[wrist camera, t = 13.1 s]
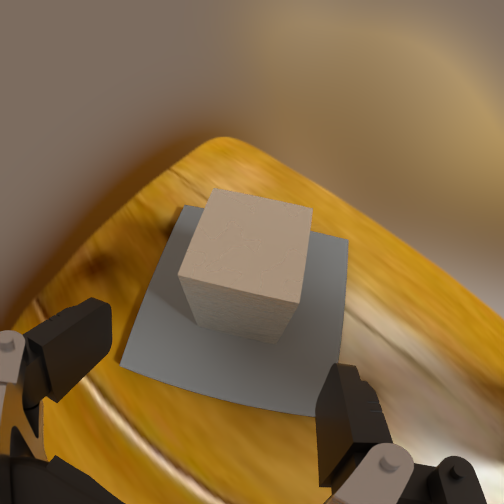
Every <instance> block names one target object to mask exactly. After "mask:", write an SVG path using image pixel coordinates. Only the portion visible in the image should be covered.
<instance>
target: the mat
mask: <svg viewBox="0 0 504 504" xmlns="http://www.w3.org/2000/svg"><path fill="white" fill-rule="evenodd" d="M203 211H204V208H199V207H194V206H188V205H184V208H183V210H182V212H181V214H180V216H179V218H178V220H177V222H176V224H175V227H174V229H173V231H172V233H171V235H170V238H169V240H168V242H167V244H166V246H165V249H164V251H163V253H162V256H161V258H160V260H159V263H158V265H157V267H156V270H155V272H154V274H153V277H152V279H151V282H150V284H149V287H148V289H147V291H146V294H145V297H144V299H143V302H142V304H141V307H140V309H139V312H138V315H137V317H136V320H135V323H134V325H133V328H132V331H131V334H130V336H129V339H128V342H127V345H126V348H125V351H124V354H123V357H122V360H121V363H120V366H121V367H124V368H126V369H129V370H131V371H134V372H136V373H139V374H142V375H144V376H147V377H150V378H152V379H155V380H158V381H161V382H164V383H167V384H170V385H173V386H176V387H179V388H182V389H186V390H189V391H192V392H196V393H199V394H203V395H206V396H210V397H214V398H217V399H221V400H225V401H229V402H234V403H238V404H242V405H247V406H252V407H256V408H261V409H267V410H272V411H278V412H284V413H290V414H296V415H303V416H311V417H315V407H316V402H317V399H318V396H319V394H320V391H321V389H322V387H323V385H324V382H325V380H326V378H327V375H328V373H329V371H330V368H331V366H332V365H333V364H334V363H338V360H339V352H340V344H341V336H342V327H343V317H344V306H345V294H346V280H347V262H348V240H347V239H342V238H338V237H334V236H330V235H325V234H321V233H317V232H313V231H310V235H309V243H308V250H307V257H306V264H305V271H304V278H303V284H302V290H301V296H300V303H299V305H298V307H297V309H296V310H295V312H294V314H293V316H292V317H291V319H290V321H289V323H288V324H287V326H286V328H285V330H284V331H283V333H282V335H281V336H280V338H279V340H278V342H277V343H276V345H275V344H270V343H266V342H261V341H257V340H252V339H248V338H244V337H239V336H235V335H231V334H227V333H223V332H219V331H215V330H211V329H208V328H204V327H200V326H198V325H197V323H196V320H195V318H194V315H193V313H192V311H191V308H190V306H189V303H188V301H187V298H186V296H185V293H184V290H183V288H182V285H181V283H180V280H179V277H178V272H179V270H180V267H181V265H182V262H183V259H184V257H185V254H186V252H187V249H188V247H189V245H190V242H191V240H192V237H193V235H194V232H195V230H196V228H197V225H198V223H199V220H200V218H201V216H202V213H203Z"/></svg>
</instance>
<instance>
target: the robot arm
mask: <svg viewBox="0 0 504 504" xmlns="http://www.w3.org/2000/svg"><path fill="white" fill-rule="evenodd" d="M111 345H112V313H111V306H110V304H108V303H106V302H103V301H100V300H98V299H95V298H89V299H87V300H86V301H84V302H82V303H81V304H79V305H77V306H73V307H69V308H66V309H64V310H62V311H61V312H59V313H57V314H56V315H54V316H52V317H51V318H49V320H46V321H44V322H42V323H41V324H39V325H38V326H36V327H34V328H33V329H31V330H30V331H28V332H26V333H25V334H23V335H21V334H20V333H18V332H16V331H11V330H6V331H1V332H0V504H125V503H123V502H122V501H120V500H119V499H118V498H116V497H115V496H114V495H112V494H111V493H110V492H108V491H107V490H106V489H105V488H103V487H102V486H101V485H100V484H99V483H97V482H96V481H95V480H94V479H93V478H91V477H90V476H89V475H87V474H85V473H84V472H82V471H80V470H78V469H77V468H75V467H73V466H72V465H70V464H69V463H67V462H65V461H64V460H62V459H61V458H59V457H58V456H56V455H55V456H54V458H53V459H52V460H51V461H50V462H48V460H47V457H46V454H45V450H44V441H43V407H44V406H43V401H42V399H43V398H44V397H45V396H47V397H48V398H50V399H51V400H53V401H54V402H56V403H58V402H59V401H60V400H61V399H62V398H63V397H64V396H65V395H66V394H67V393H68V392H69V391H70V390H71V389H72V388H73V387H74V386H75V385H76V384H77V383H78V382H79V381H80V380H81V379H82V378H83V377H84V376H85V375H86V374H87V373H88V372H89V371H90V370H91V369H93V368H94V367H95V366H96V365H97V364H98V363H99V362H100V361H101V360H102V359H103V358H104V357H105V356H106V355H107V354H108V352H109V351H110V348H111ZM315 419H316V433H317V450H318V470H319V487H331V489H332V495H331V496H330V497H329V498H328V499H327V500H326V501H325V502H324V503H323V504H487V502H486V499H485V497H484V494H483V491H482V488H481V486H480V483H479V480H478V478H477V475H476V473H475V470H474V468H473V466H472V465H471V464H470V463H469V462H468V461H467V460H465V459H464V458H461V457H458V456H450V457H447V458H445V459H444V460H443V461H442V462H441V463H440V464H439V465H438V466H437V467H433V466H427V465H421V464H416V463H414V462H413V459H412V457H411V455H410V454H409V453H408V452H407V451H406V450H405V449H404V448H402V447H400V446H398V445H396V444H393V441H392V438H391V435H390V432H389V429H388V426H387V423H386V420H385V417H384V414H383V413H382V409H381V406H380V404H379V400H378V397H377V394H376V392H375V390H374V389H373V388H372V387H371V386H370V385H369V384H368V382H367V381H361V380H360V377H359V374H358V370H357V368H356V366H353V365H346V364H339V363H334V364H333V365H332V366H331V368H330V371H329V373H328V375H327V378H326V380H325V382H324V385H323V387H322V389H321V391H320V394H319V396H318V399H317V402H316V407H315Z"/></svg>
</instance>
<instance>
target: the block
mask: <svg viewBox="0 0 504 504" xmlns="http://www.w3.org/2000/svg"><path fill="white" fill-rule="evenodd" d="M312 212H313V208H308V207H304V206H300V205H295V204H291V203H286V202H282V201H277V200H272V199H267V198H263V197H258V196H253V195H248V194H243V193H238V192H232V191H227V190H222V189H216V188H213V190H212V193H211V195H210V197H209V200H208V202H207V204H206V206H205V209H204V211H203V213H202V216H201V218H200V220H199V223H198V225H197V228H196V230H195V232H194V235H193V237H192V240H191V242H190V245H189V247H188V249H187V252H186V254H185V257H184V259H183V262H182V265H181V267H180V270H179V272H178V277H179V280H180V283H181V285H182V288H183V290H184V293H185V296H186V298H187V301H188V303H189V306H190V308H191V311H192V313H193V315H194V318H195V320H196V323H197V325H198V326H200V327H204V328H208V329H211V330H215V331H219V332H223V333H227V334H231V335H235V336H239V337H244V338H248V339H252V340H257V341H261V342H266V343H270V344H275V345H276V343H277V342H278V340H279V338H280V336H281V335H282V333H283V331H284V330H285V328H286V326H287V324H288V323H289V321H290V319H291V317H292V316H293V314H294V312H295V310H296V309H297V307H298V305H299V303H300V296H301V290H302V284H303V278H304V271H305V264H306V257H307V250H308V243H309V235H310V228H311V220H312Z"/></svg>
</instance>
